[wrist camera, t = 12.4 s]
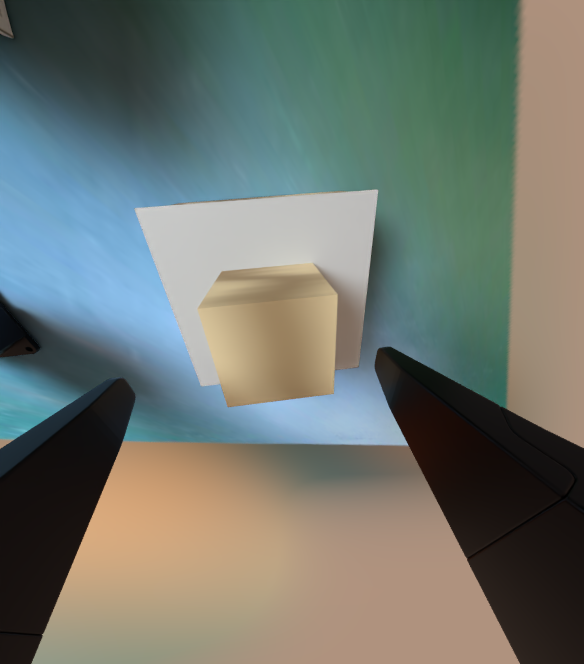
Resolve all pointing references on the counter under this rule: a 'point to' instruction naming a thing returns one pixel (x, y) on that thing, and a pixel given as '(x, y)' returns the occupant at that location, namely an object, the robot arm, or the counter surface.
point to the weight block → (271, 333)
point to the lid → (263, 256)
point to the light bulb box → (4, 21)
